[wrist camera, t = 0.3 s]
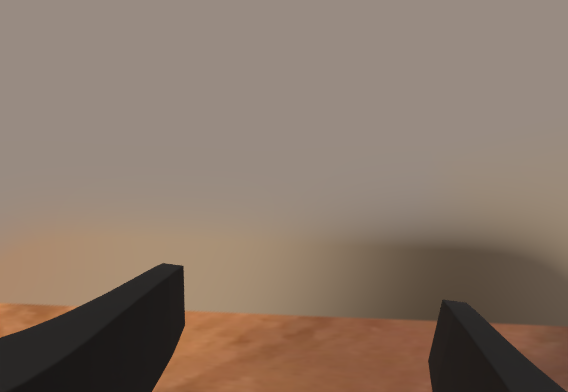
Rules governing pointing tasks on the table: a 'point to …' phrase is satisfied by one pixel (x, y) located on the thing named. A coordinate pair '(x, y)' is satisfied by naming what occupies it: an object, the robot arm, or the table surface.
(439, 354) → the robot arm
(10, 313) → the table surface
